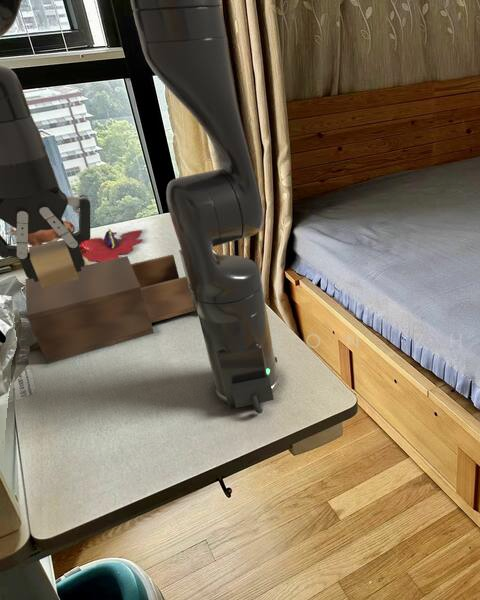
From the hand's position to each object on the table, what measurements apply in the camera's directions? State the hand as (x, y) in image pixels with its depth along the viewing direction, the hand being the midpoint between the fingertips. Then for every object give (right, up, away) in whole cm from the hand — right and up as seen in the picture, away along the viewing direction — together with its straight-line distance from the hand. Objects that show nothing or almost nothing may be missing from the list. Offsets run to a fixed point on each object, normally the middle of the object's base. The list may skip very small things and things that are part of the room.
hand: (58, 274), depth 78 cm
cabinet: (-6, -9, +21) cm, 24 cm away
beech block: (0, 0, 0) cm, 1 cm away
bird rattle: (-16, -1, +35) cm, 39 cm away
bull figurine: (-34, +7, +51) cm, 61 cm away
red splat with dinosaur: (-20, +9, +52) cm, 57 cm away
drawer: (+6, -4, +27) cm, 28 cm away
